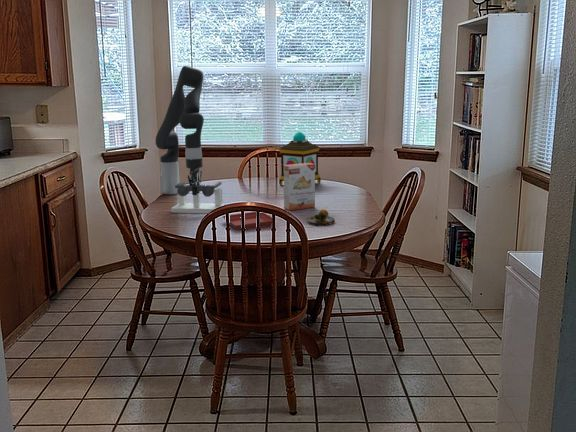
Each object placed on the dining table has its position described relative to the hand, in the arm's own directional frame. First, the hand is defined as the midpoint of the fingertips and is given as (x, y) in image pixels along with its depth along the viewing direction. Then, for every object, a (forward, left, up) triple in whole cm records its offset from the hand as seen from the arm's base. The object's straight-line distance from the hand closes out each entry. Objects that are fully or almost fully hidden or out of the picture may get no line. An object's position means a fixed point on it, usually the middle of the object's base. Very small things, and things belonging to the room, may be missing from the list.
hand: (196, 194), depth 274 cm
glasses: (0, +4, -1) cm, 4 cm away
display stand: (0, +2, -8) cm, 9 cm away
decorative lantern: (+38, +71, -9) cm, 81 cm away
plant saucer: (+30, -21, -9) cm, 38 cm away
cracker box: (+47, +11, -9) cm, 49 cm away
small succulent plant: (+60, -15, -9) cm, 62 cm away
